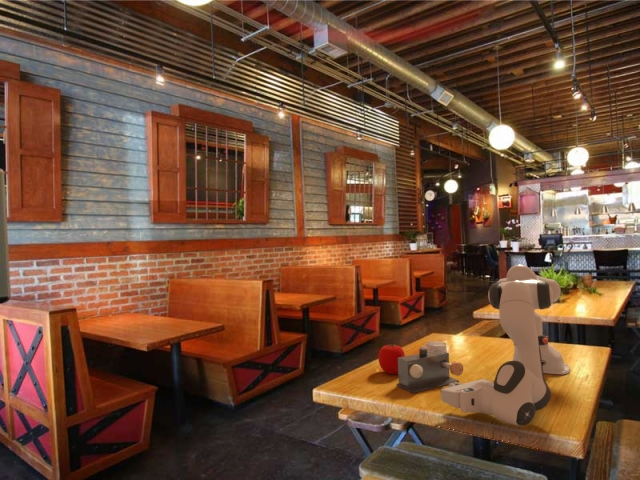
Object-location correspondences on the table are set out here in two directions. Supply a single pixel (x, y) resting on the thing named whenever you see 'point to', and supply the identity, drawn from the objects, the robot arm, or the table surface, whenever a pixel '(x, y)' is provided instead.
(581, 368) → the table surface
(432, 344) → the cup
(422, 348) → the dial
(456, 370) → the knob
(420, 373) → the knob
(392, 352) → the tomato
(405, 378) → the mount
